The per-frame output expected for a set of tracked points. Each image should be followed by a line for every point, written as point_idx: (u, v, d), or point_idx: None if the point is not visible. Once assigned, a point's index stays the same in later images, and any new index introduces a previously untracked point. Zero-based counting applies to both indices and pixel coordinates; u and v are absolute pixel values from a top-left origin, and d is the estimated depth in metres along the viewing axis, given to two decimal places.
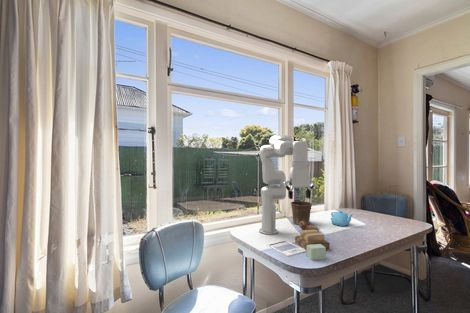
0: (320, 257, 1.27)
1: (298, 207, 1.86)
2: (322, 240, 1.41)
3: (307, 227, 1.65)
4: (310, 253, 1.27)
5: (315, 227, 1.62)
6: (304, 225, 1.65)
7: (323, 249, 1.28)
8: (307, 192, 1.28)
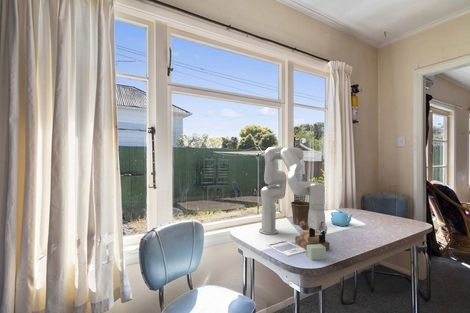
0: (320, 257, 1.27)
1: (298, 207, 1.86)
2: None
3: (308, 227, 1.64)
4: (310, 253, 1.27)
5: None
6: (305, 225, 1.65)
7: (323, 249, 1.28)
8: (312, 231, 1.33)
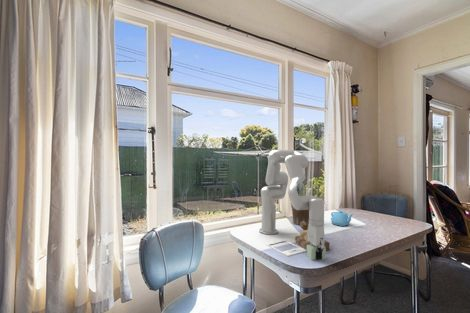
0: None
1: None
2: None
3: None
4: (310, 253, 1.27)
5: None
6: (305, 225, 1.65)
7: (323, 249, 1.28)
8: None
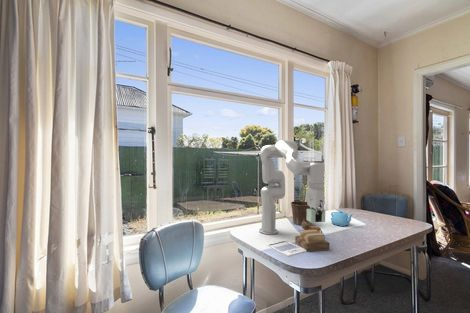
0: None
1: (298, 207, 1.86)
2: (322, 240, 1.41)
3: (310, 227, 1.64)
4: (310, 216, 1.29)
5: (318, 227, 1.61)
6: (307, 225, 1.64)
7: (323, 212, 1.29)
8: None
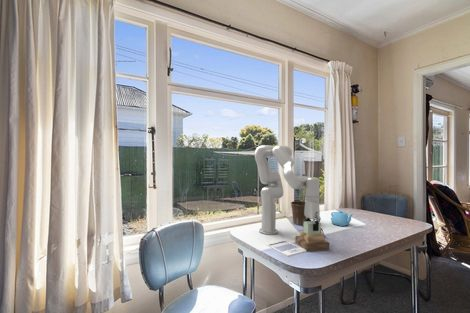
0: (316, 231, 1.43)
1: (298, 207, 1.86)
2: (322, 240, 1.41)
3: None
4: (307, 228, 1.43)
5: None
6: None
7: None
8: None
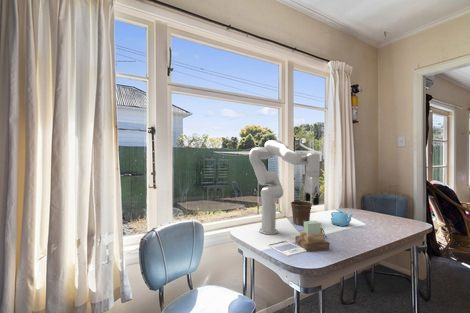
0: (316, 231, 1.43)
1: (298, 207, 1.86)
2: (322, 240, 1.41)
3: None
4: (307, 228, 1.43)
5: None
6: None
7: (318, 224, 1.44)
8: (308, 196, 1.51)
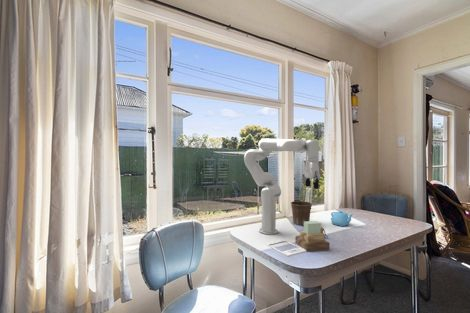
0: (316, 231, 1.43)
1: (298, 207, 1.86)
2: (322, 240, 1.41)
3: None
4: (307, 228, 1.43)
5: (321, 228, 1.60)
6: None
7: (318, 224, 1.44)
8: (308, 181, 1.58)
